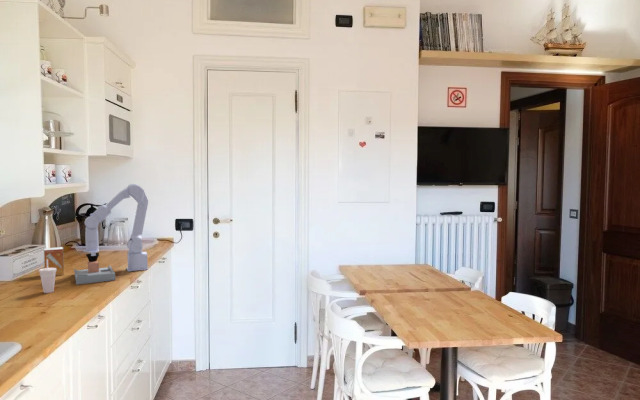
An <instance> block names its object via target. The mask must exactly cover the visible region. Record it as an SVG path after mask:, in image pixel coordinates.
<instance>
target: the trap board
mask: <svg viewBox="0 0 640 400" xmlns="http://www.w3.org/2000/svg"><path fill="white" fill-rule="evenodd" d="M73 272H74V278H75V284H76V285H86V284H94V283H95V284H96V283H103V282H104V281H105V282H111V281H116V272H115V271H114V269H113V268H112V266H111V265H108V266H107V267H99V272H93V273H89V272H88V268H87V269H79V270H78V269H77V268H74V269H73Z"/></svg>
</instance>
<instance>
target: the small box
mask: <svg viewBox="0 0 640 400" xmlns="http://www.w3.org/2000/svg"><path fill="white" fill-rule="evenodd" d="M46 259H48V268H56V270H57V271H56V274H55V277H56V276H64V275H65V269H64V268H65V262H64V247H63V246H59V247H46V248H43V267H44V268H47V260H46ZM44 268H43V269H44Z"/></svg>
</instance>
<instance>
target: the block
mask: <svg viewBox="0 0 640 400" xmlns="http://www.w3.org/2000/svg"><path fill="white" fill-rule="evenodd" d="M99 268H100V263H99V261H98V260H97V261H93V262H89V261H87V269H88V272H89V273H93V272H99Z"/></svg>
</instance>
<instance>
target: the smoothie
mask: <svg viewBox="0 0 640 400" xmlns="http://www.w3.org/2000/svg"><path fill="white" fill-rule="evenodd" d="M46 260H47V268H40V269H38V273H39V276H40V281H41V285H42V290H43V293H44V294H50V293H54V291H55V281H56V276H55V274H56V271H57V270H56V268H48V259H46Z"/></svg>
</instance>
